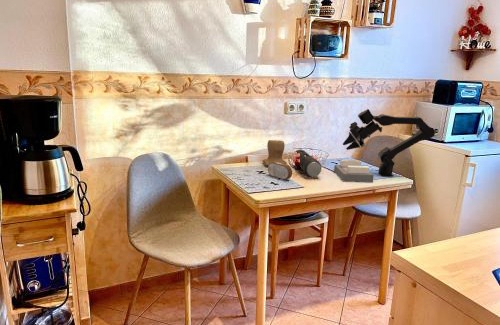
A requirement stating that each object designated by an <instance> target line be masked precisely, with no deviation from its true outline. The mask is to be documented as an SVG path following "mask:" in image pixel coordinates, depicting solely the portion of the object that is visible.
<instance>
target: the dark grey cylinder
mask: <svg viewBox="0 0 500 325" xmlns="http://www.w3.org/2000/svg"><path fill="white" fill-rule="evenodd" d="M294 152H297V153H300V157H299V158H300V163H299V164H300V167H301V168H300V167H299V168H300V169H301V170H302V171H303V173H304V174H305V175H306V176H307V177H311V178H316V177H318V176H319V175H320V174H321V172H322V164H321V162H320V161H319V160H318V159H316V158H314V157H313V156H311V155H310V153H308V152H306V151H305V150H303V149H297V150H296V151H294Z"/></svg>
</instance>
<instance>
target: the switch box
mask: <svg viewBox="0 0 500 325" xmlns="http://www.w3.org/2000/svg"><path fill="white" fill-rule="evenodd" d="M333 167H334V168H333V173H335V175H337V176H338V177H339V178H340V180H342V181H343V182H354V183H374V177H375V176H374V174H373V173H372V172H370V171H369V173H348V172H347V167H342V166H340V164H334V166H333Z"/></svg>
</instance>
